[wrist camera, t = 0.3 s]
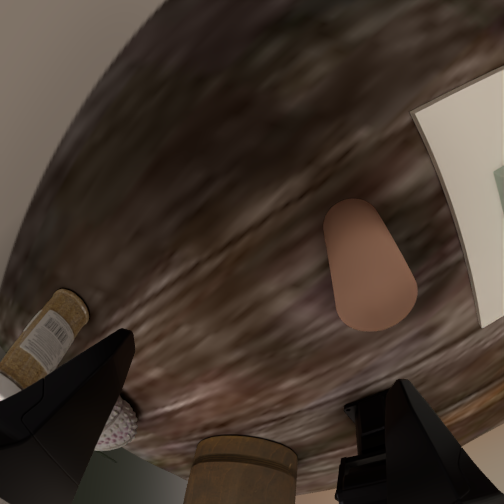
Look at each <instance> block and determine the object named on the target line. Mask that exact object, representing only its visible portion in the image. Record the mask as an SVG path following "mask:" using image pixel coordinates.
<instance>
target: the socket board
mask: <svg viewBox="0 0 504 504" xmlns="http://www.w3.org/2000/svg"><path fill="white" fill-rule="evenodd" d="M409 113H410V115H411V117H412V119H413V121H414V123H415V125H416V127H417V129H418V131H419V133H420V135H421V138H422V140H423V142H424V144H425V147H426V149H427V151H428V153H429V156H430V158H431V160H432V163H433V165H434V168H435V170H436V173H437V175H438V178H439V180H440V183H441V186H442V188H443V191H444V194H445V197H446V199H447V202H448V205H449V208H450V211H451V214H452V217H453V220H454V223H455V226H456V230H457V233H458V236H459V240H460V243H461V247H462V250H463V254H464V258H465V262H466V266H467V270H468V274H469V278H470V283H471V287H472V292H473V297H474V302H475V307H476V312H477V318H478V322H479V324H480V326H481V328H484V327H485V326H487V325H489V324H491V323H492V322H494V321H496V320H497V319H499V318H500V317H502V316H504V66H502V67H500V68H497V69H495V70H493V71H491V72H489V73H487V74H485V75H482V76H480V77H478V78H476V79H474V80H472V81H470V82H468V83H466V84H464V85H462V86H460V87H458V88H456V89H454V90H451V91H449V92H447V93H445V94H443V95H441V96H439V97H437V98H436V99H434V100H432V101H430V102H428V103H426V104H424V105H422V106H420V107H418V108H416V109H414V110H412V111H410V112H409Z"/></svg>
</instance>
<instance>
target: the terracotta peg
mask: <svg viewBox="0 0 504 504" xmlns="http://www.w3.org/2000/svg"><path fill="white" fill-rule="evenodd" d="M323 232H324V237H325V243H326V248H327V254H328V260H329V266H330V271H331V278H332V284H333V290H334V297H335V303H336V310H337V313H338V315H339V317H340V319H341V320H342V321H343V322H344V323H345V324H346V325H348V326H349V327H351V328H353V329H356V330H359V331H366V332H373V331H380V330H384V329H387V328H389V327H392V326H394V325H395V324H397V323H399V322H400V321H401V320H403V319H404V318H405V317H406V316H407V315H408V314H409V312H410V311H411V310H412V308H413V306H414V304H415V302H416V299H417V291H418V289H417V284H416V281H415V279H414V277H413V275H412V273H411V271H410V269H409V267H408V265H407V263H406V261H405V259H404V258H403V256H402V254H401V252H400V250H399V248H398V247H397V245H396V243H395V241H394V240H393V238H392V236H391V234H390V232H389V231H388V229H387V227H386V226H385V224H384V222H383V220H382V219H381V217H380V215H379V214H378V212H377V210H376V209H375V208H374V207H373V206H372V205H371V204H370V203H368V202H366V201H364V200H361V199H355V198H352V199H345V200H342V201H340V202H338V203H337V204H335V205H334V206H333V207H332V208H331V209H330V210H329V211H328V212H327V214H326V216H325V219H324V222H323Z"/></svg>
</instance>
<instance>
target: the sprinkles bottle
mask: <svg viewBox="0 0 504 504" xmlns="http://www.w3.org/2000/svg"><path fill="white" fill-rule="evenodd" d="M88 320H89V312H88V309H87V307H86V305H85V304H84V302H83V301H82V299H80V298H79V297H78V296H77V295H76V294H75V293H73V292H72V291H69V290H66V289H59V290H57V291H56V292H55V293H54V294H53V297H52V298H51V299H50V300H49V301H48V302H47V304H46V305H45V306H44V307H43V309H42V310H40V311H39V312H38V313H37V314H36V316H35V317H34V318H33V319H32V320H31V322H30V323H29V324H28V325H27V327H26V328H25V329H24V331H23V333H22V335H21V336H20V337H19V338H18V339H17V340H16V342H15V343H14V344H13V346H12V347H11V349H10V350H9V351H8V352H7V354H6V355H5V357H4V358H3V359H2V361H1V362H0V401H1V400H3V399H6V398H8V397H10V396H12V395H14V394H16V393H17V392H19V391H21V390H23V389H25V388H27V387H28V386H30V385H32V384H33V383H35V382H37V381H38V380H40V379H41V378H44V377H45V376H46V375H48V374H49V373H51V372H52V371H54V370H55V368H56V367H57V365H58V364H59V362H60V361H61V359H62V358H63V356H64V355H65V353H66V352H67V350H68V349H69V347H70V346H71V344H72V342H73V341H74V339H75V337H76V336H77V334H78V332H79V331H80V330H81V328H82V327H83V326H84V325H85V324H86V323H87V322H88Z"/></svg>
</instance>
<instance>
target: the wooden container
mask: <svg viewBox="0 0 504 504" xmlns="http://www.w3.org/2000/svg"><path fill="white" fill-rule="evenodd" d="M296 479H297V456H296V454H295V453H294V452H293V451H292V450H291V449H289V448H287V447H285V446H283V445H281V444H278V443H275V442H272V441H268V440H264V439H259V438H254V437H247V436H216V437H210V438H207V439H204V440H203V441H201V442H200V443H199V444H198V446H197V449H196V453H195V457H194V460H193V466H192V468H191V472H190V476H189V480H188V484H187V488H186V493H185V498H184V503H183V504H295V496H296Z"/></svg>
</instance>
